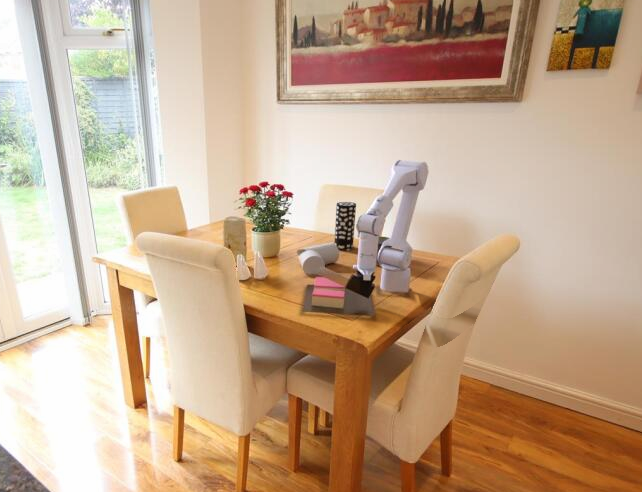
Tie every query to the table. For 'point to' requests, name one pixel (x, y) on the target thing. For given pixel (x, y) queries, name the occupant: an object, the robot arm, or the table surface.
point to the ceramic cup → (380, 242)
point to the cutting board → (352, 304)
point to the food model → (235, 236)
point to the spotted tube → (345, 225)
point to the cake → (327, 284)
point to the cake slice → (328, 298)
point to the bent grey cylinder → (317, 257)
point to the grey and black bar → (344, 281)
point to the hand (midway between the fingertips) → (364, 293)
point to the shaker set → (259, 267)
